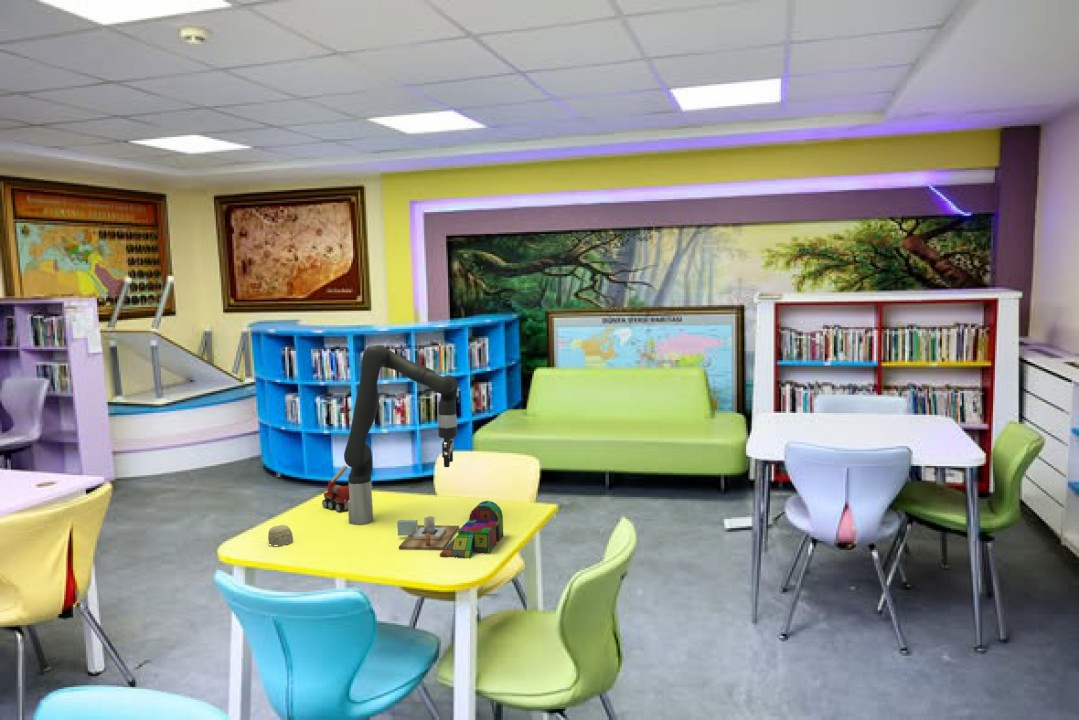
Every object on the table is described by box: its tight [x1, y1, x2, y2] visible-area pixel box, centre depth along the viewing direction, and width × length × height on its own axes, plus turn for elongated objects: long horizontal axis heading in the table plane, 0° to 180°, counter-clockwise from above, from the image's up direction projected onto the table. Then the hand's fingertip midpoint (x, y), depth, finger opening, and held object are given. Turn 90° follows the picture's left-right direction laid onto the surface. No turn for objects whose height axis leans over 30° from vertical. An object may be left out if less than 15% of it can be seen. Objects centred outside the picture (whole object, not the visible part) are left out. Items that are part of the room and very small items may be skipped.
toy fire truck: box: [321, 464, 350, 513], centre depth 349 cm, size 11×16×18 cm
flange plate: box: [396, 519, 446, 540], centre depth 303 cm, size 18×10×6 cm, turn 82°
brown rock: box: [267, 524, 294, 547], centre depth 304 cm, size 9×10×10 cm
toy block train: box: [439, 500, 504, 559], centre depth 292 cm, size 25×17×14 cm
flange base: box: [398, 516, 460, 551], centre depth 303 cm, size 17×25×8 cm
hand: (448, 464), depth 317 cm, fingers open, 8 cm apart
